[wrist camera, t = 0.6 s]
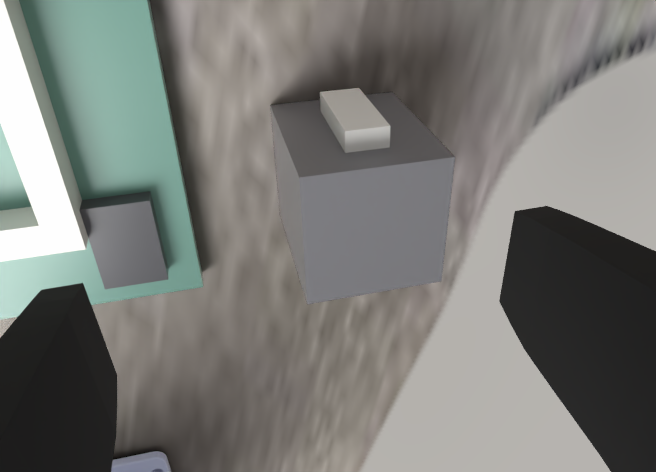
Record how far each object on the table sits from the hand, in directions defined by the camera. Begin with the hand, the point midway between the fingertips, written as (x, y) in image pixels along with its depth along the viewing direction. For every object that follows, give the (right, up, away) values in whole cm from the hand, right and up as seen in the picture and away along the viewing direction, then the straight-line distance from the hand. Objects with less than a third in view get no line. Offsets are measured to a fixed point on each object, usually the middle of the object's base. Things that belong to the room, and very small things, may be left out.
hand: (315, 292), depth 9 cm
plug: (0, +4, +10) cm, 10 cm away
